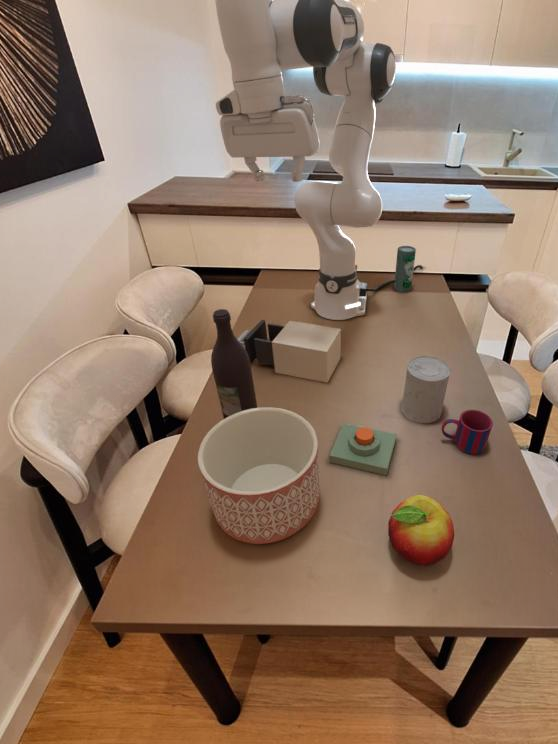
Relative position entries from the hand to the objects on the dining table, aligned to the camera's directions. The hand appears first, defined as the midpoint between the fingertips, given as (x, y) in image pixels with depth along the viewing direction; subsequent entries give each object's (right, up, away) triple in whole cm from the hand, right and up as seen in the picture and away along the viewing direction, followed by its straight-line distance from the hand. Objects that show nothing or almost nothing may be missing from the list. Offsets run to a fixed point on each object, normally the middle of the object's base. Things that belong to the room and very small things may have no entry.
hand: (278, 180), depth 82 cm
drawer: (-7, -34, +29) cm, 45 cm away
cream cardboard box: (+3, -37, +27) cm, 46 cm away
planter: (0, -64, -7) cm, 64 cm away
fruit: (+26, -69, -13) cm, 75 cm away
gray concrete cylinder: (+32, -48, +14) cm, 59 cm away
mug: (+39, -55, +6) cm, 67 cm away
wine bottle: (-8, -53, +6) cm, 54 cm away
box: (+18, -56, +3) cm, 59 cm away
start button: (+18, -53, +1) cm, 56 cm away
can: (+34, -6, +68) cm, 76 cm away
